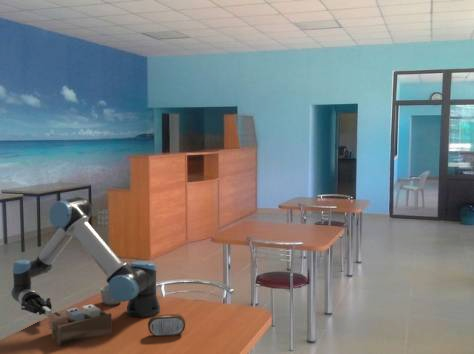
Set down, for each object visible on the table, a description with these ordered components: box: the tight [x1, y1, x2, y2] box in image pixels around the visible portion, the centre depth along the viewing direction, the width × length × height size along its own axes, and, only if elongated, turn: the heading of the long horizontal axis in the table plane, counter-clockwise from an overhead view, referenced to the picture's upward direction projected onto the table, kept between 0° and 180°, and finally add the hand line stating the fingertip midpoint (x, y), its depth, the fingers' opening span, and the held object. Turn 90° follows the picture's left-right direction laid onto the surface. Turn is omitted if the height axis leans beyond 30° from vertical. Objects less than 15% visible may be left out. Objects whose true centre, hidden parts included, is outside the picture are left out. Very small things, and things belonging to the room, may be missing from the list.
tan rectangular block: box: [48, 311, 68, 331], centre depth 209 cm, size 8×4×6 cm, turn 41°
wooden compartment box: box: [51, 309, 113, 347], centre depth 208 cm, size 10×21×8 cm, turn 131°
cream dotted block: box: [81, 303, 101, 318], centre depth 218 cm, size 8×4×6 cm, turn 41°
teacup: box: [99, 284, 122, 306], centre depth 250 cm, size 14×11×8 cm
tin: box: [147, 313, 186, 337], centre depth 210 cm, size 15×3×8 cm, turn 100°
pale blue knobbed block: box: [65, 307, 84, 322], centre depth 213 cm, size 8×4×6 cm, turn 41°
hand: (49, 313), depth 215 cm, fingers closed
